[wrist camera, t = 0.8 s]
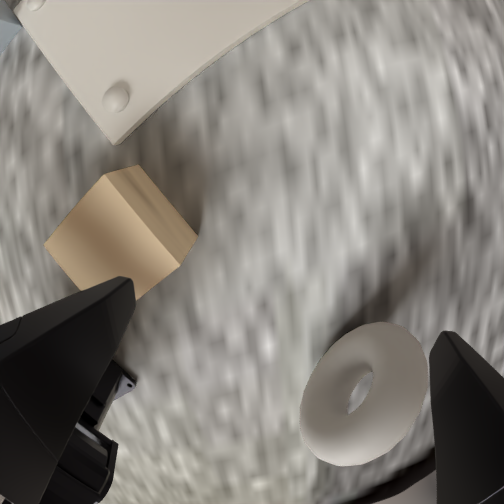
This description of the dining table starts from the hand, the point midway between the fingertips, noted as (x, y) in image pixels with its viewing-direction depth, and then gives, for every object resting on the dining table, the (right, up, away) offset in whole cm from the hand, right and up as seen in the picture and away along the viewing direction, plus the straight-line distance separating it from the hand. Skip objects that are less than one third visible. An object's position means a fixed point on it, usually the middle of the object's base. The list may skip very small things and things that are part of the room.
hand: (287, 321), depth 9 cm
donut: (+6, -5, +15) cm, 17 cm away
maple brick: (-9, +3, +12) cm, 15 cm away
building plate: (-8, +19, +6) cm, 22 cm away
